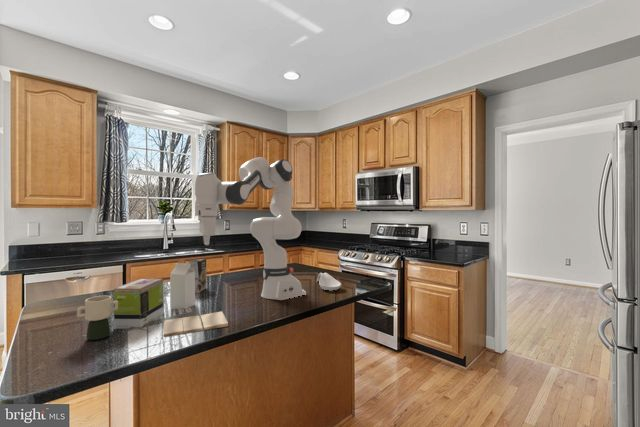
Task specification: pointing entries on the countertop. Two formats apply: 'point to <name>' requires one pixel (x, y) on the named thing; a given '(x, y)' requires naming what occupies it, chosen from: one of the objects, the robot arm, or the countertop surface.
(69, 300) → the countertop surface
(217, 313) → the board
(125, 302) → the tea box
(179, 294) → the milk carton
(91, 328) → the character mug
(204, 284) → the coffee box
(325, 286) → the spoon rest
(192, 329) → the laid floor
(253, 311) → the countertop surface
